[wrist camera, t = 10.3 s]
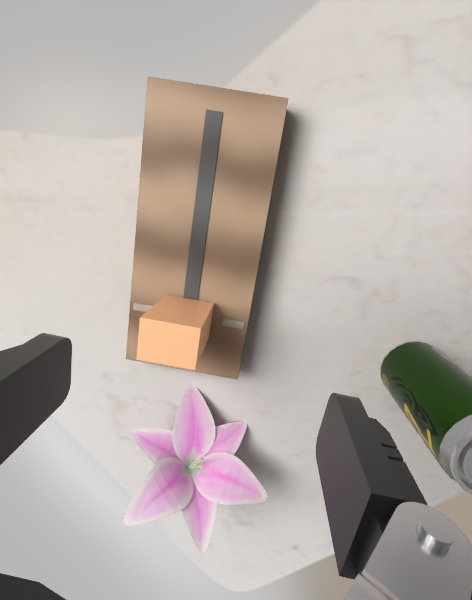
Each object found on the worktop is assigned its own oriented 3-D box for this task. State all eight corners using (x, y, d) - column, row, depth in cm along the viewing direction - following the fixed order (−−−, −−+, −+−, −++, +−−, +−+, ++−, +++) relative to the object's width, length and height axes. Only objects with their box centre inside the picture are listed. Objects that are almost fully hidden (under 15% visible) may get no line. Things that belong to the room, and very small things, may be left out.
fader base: (158, 89, 26) (147, 76, 23) (286, 108, 26) (288, 97, 23) (136, 347, 32) (125, 359, 29) (239, 366, 31) (237, 379, 29)
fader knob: (166, 294, 27) (139, 317, 21) (214, 303, 27) (201, 328, 21) (162, 328, 28) (136, 359, 22) (209, 337, 28) (195, 370, 22)
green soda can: (409, 326, 29) (506, 402, 18) (452, 364, 30) (573, 461, 18) (364, 368, 31) (427, 465, 19) (407, 403, 31) (492, 517, 20)
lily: (272, 467, 35) (297, 499, 26) (175, 539, 33) (165, 603, 24) (213, 370, 37) (216, 367, 28) (116, 432, 35) (85, 452, 25)
